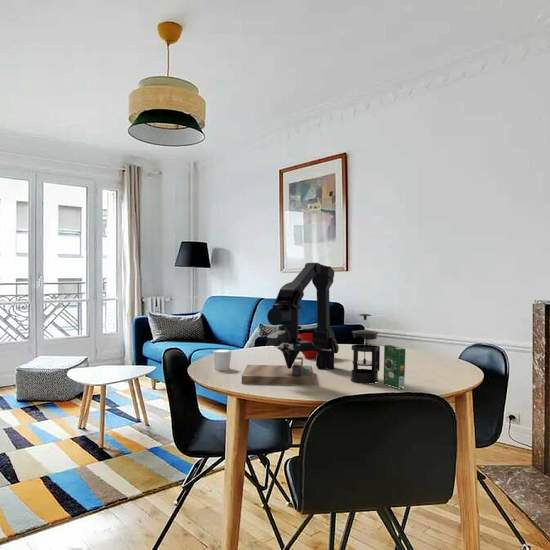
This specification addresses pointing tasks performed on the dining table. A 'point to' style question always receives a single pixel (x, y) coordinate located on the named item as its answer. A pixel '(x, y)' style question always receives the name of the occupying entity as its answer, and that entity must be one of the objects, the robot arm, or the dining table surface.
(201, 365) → the dining table surface
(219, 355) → the white cylinder
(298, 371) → the hinged leg
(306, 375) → the stool seat
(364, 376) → the french press
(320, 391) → the dining table surface
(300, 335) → the ceramic cup
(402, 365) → the coffee box
